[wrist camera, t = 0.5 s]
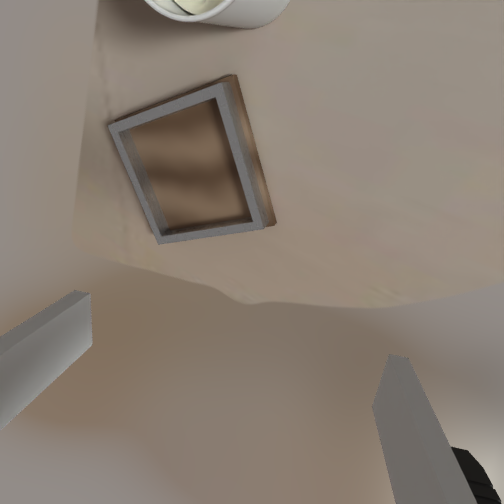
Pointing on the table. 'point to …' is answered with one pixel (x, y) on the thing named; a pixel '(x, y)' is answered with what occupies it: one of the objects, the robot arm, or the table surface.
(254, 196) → the grey square frame
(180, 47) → the table surface
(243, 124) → the walnut plate
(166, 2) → the candle holder
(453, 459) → the robot arm
